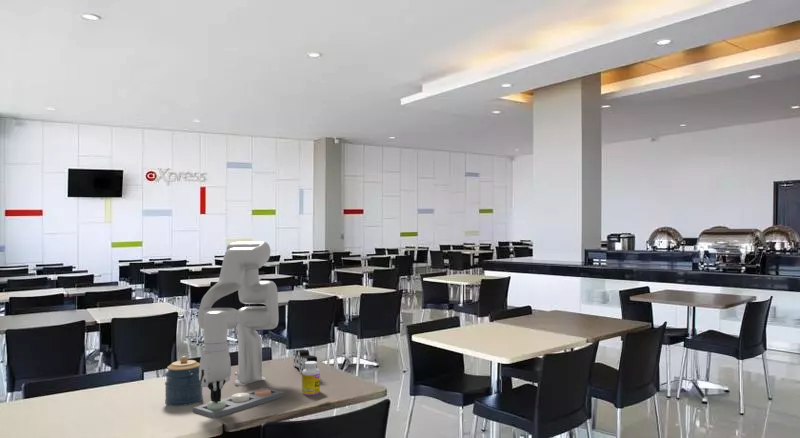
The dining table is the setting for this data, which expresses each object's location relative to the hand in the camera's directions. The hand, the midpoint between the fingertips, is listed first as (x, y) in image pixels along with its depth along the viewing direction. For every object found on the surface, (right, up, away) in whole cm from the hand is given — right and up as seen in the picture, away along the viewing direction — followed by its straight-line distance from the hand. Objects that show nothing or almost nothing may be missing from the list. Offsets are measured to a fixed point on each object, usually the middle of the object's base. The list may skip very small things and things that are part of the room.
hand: (215, 401), depth 192 cm
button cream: (+6, -4, +8) cm, 11 cm away
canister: (-16, -6, +14) cm, 22 cm away
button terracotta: (+12, -5, +16) cm, 21 cm away
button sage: (0, -3, 0) cm, 3 cm away
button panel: (+6, -5, +8) cm, 11 cm away
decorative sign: (+20, -6, +58) cm, 62 cm away
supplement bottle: (+29, -5, +21) cm, 36 cm away
